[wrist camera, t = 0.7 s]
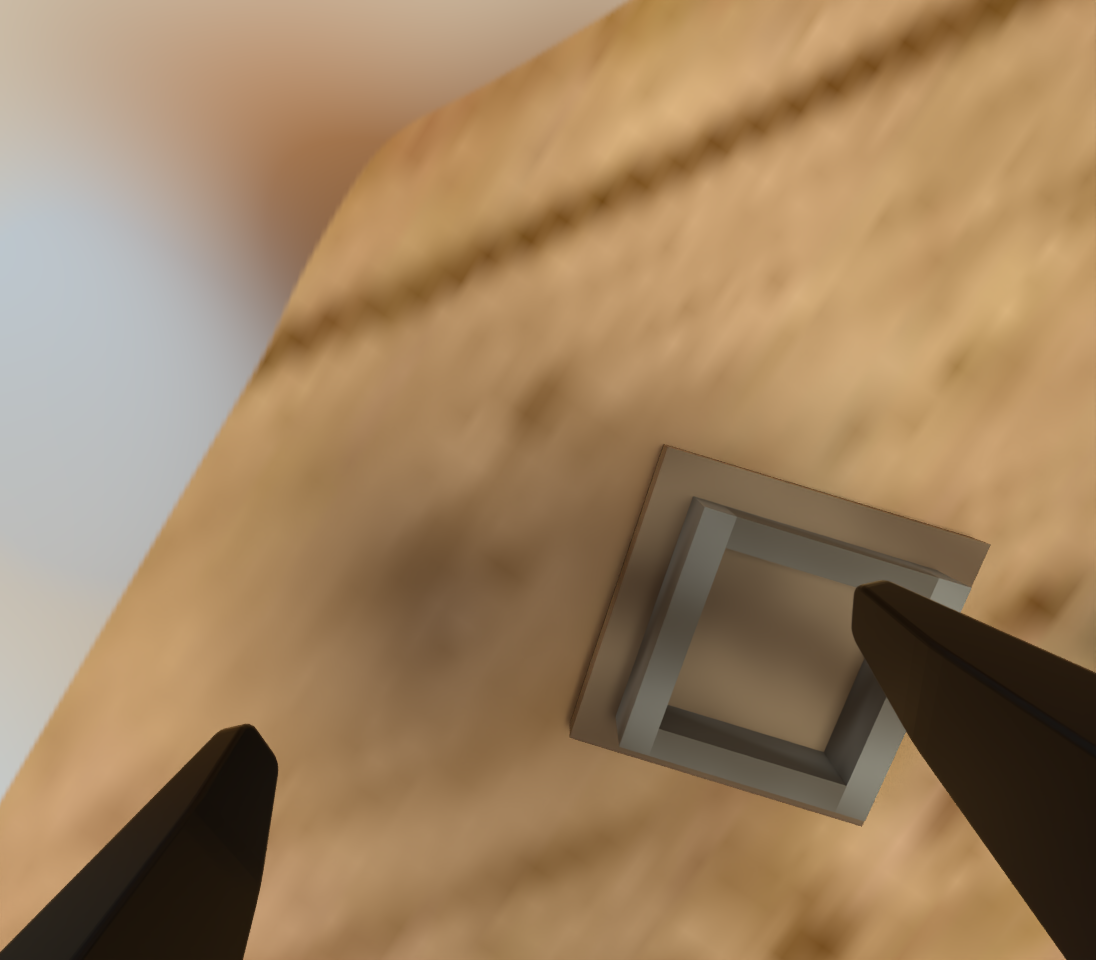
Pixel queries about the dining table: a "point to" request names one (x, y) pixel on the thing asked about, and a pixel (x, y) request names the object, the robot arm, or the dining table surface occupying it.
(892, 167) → the dining table surface
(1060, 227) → the dining table surface
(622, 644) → the jig
